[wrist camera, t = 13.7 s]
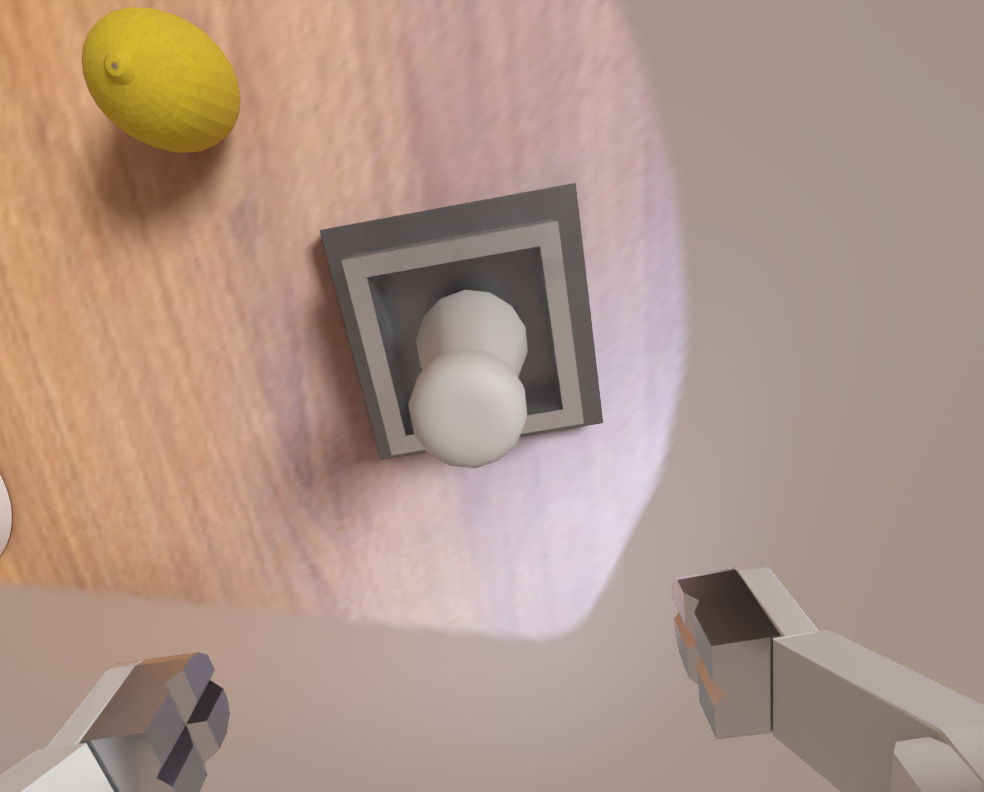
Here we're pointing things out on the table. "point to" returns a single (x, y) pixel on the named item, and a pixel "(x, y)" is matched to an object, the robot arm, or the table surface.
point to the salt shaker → (469, 379)
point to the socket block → (478, 267)
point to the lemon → (161, 79)
